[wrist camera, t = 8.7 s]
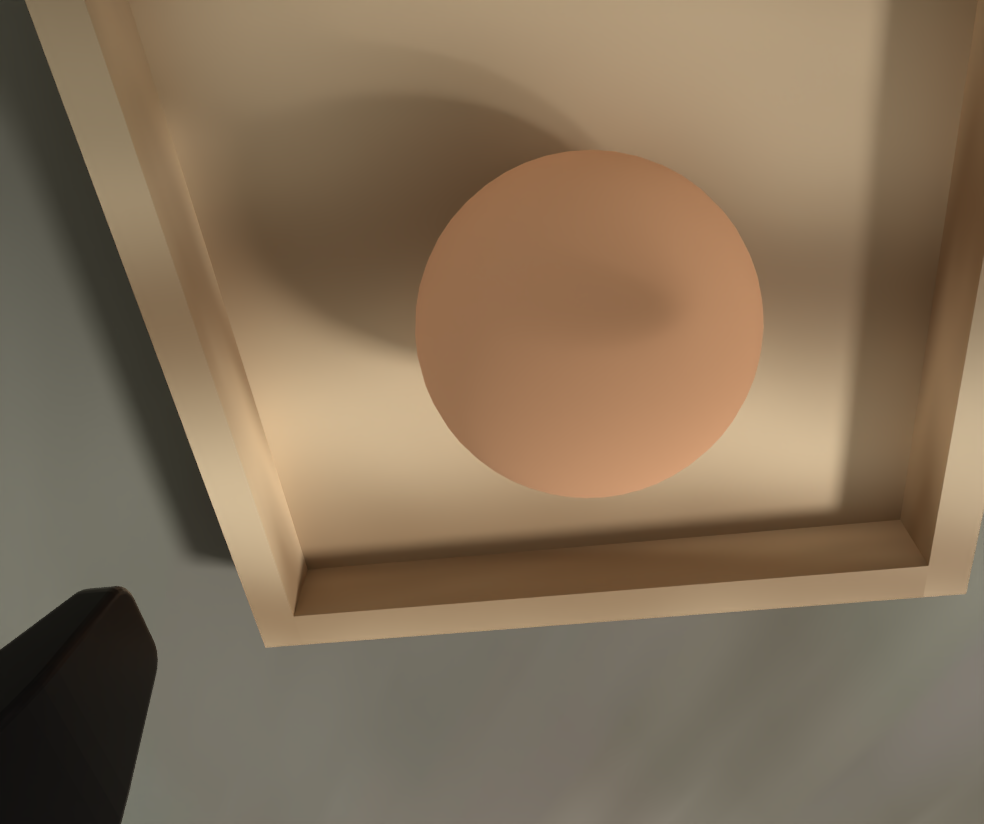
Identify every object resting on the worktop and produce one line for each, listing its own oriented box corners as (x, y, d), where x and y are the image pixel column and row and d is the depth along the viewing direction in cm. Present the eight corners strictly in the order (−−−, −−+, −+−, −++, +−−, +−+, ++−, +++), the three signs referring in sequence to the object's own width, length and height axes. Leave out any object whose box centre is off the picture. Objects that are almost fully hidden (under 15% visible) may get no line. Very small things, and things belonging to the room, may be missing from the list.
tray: (919, 522, 18) (966, 593, 17) (289, 575, 20) (265, 647, 18) (1056, -311, 11) (1165, -352, 9) (49, -148, 12) (-33, -155, 11)
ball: (718, 375, 16) (800, 553, 12) (451, 404, 16) (434, 586, 12) (720, 94, 13) (827, 188, 9) (404, 136, 14) (359, 246, 9)
